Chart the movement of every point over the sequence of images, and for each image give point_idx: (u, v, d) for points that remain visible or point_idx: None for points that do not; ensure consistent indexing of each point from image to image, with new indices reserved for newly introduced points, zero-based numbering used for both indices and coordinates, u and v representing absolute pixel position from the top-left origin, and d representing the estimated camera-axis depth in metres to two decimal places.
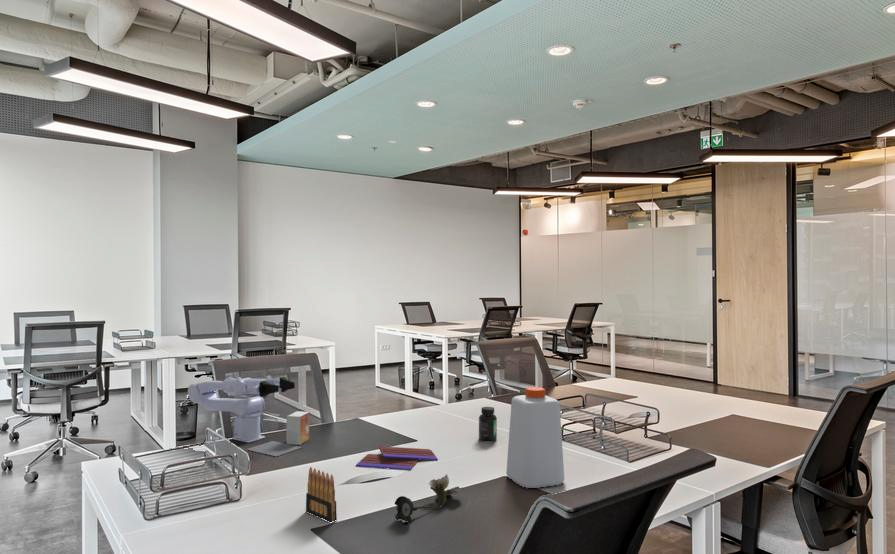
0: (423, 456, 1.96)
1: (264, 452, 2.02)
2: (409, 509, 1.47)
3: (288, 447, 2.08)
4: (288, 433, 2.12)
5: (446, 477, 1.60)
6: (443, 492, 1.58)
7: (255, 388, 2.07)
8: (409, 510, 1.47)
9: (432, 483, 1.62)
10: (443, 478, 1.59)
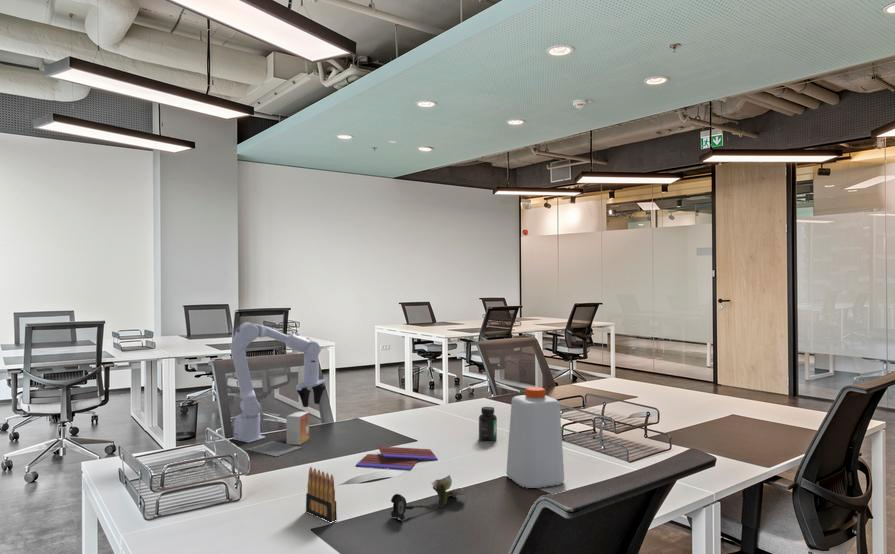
0: (423, 456, 1.96)
1: (264, 452, 2.02)
2: (403, 507, 1.48)
3: (288, 447, 2.08)
4: (288, 433, 2.12)
5: (448, 478, 1.59)
6: (444, 493, 1.57)
7: (299, 389, 2.24)
8: (403, 508, 1.48)
9: (436, 483, 1.62)
10: (444, 479, 1.58)
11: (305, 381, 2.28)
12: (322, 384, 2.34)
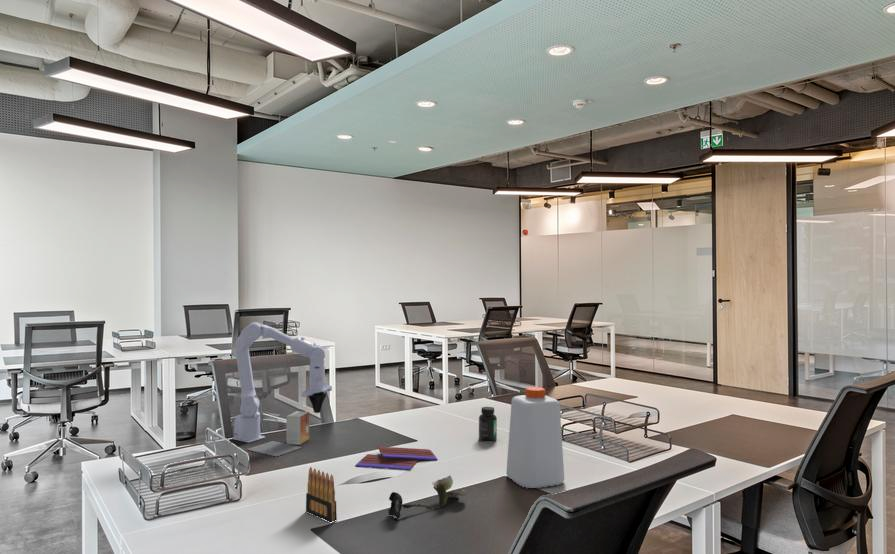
0: (423, 456, 1.96)
1: (264, 452, 2.02)
2: None
3: (288, 447, 2.08)
4: (288, 433, 2.12)
5: (449, 478, 1.59)
6: (444, 493, 1.57)
7: (304, 396, 2.18)
8: None
9: (438, 483, 1.62)
10: (445, 479, 1.58)
11: (311, 388, 2.22)
12: (328, 390, 2.29)
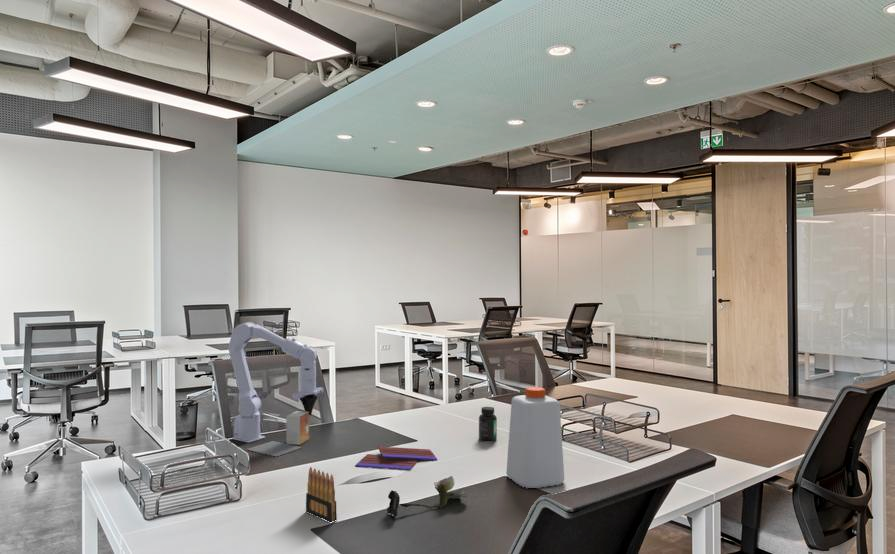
0: (422, 456, 1.96)
1: (264, 452, 2.02)
2: None
3: (288, 447, 2.08)
4: (288, 433, 2.12)
5: (450, 479, 1.58)
6: (444, 493, 1.57)
7: (295, 398, 2.14)
8: None
9: (440, 483, 1.62)
10: (445, 479, 1.57)
11: (302, 390, 2.18)
12: (320, 392, 2.25)
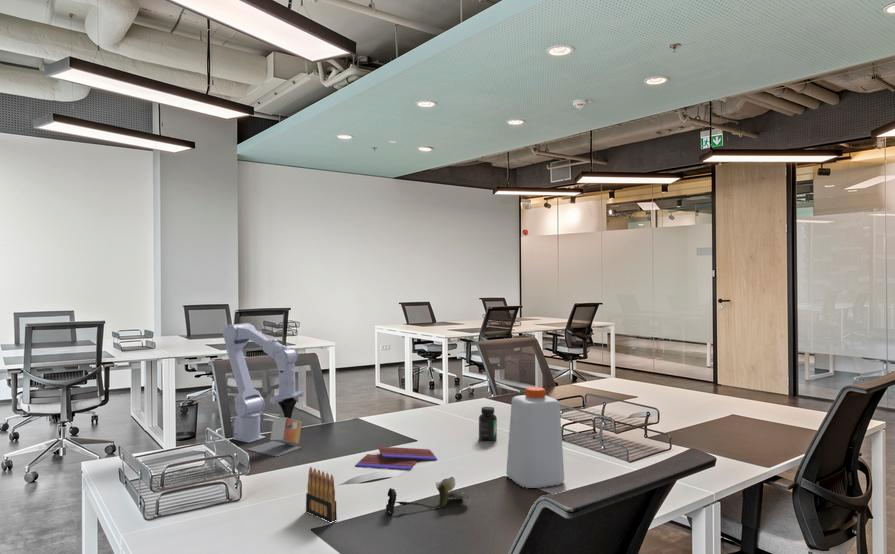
0: (422, 456, 1.96)
1: (264, 452, 2.02)
2: None
3: (288, 447, 2.08)
4: (282, 442, 2.09)
5: (450, 479, 1.58)
6: (444, 494, 1.56)
7: (273, 402, 2.04)
8: None
9: None
10: (446, 480, 1.57)
11: (280, 393, 2.09)
12: (300, 396, 2.15)
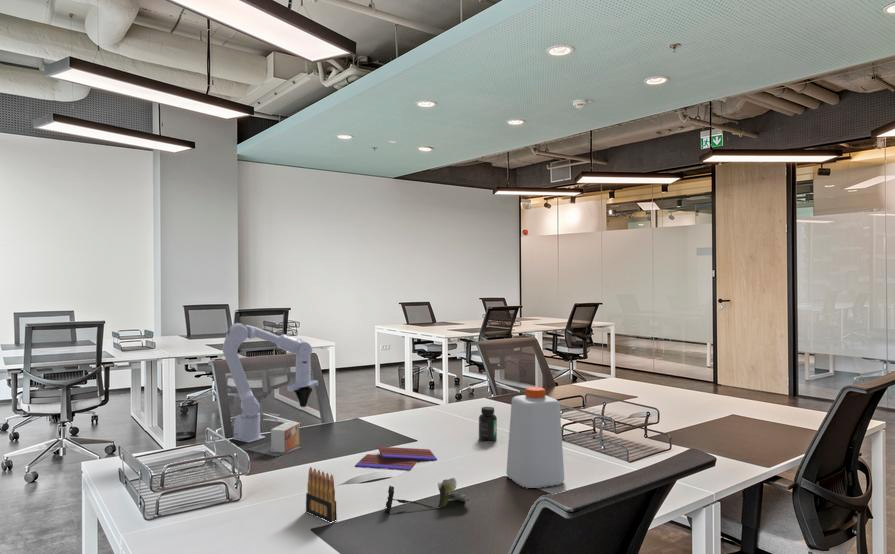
0: (422, 456, 1.96)
1: (264, 452, 2.02)
2: (392, 499, 1.53)
3: None
4: None
5: (451, 481, 1.57)
6: (444, 495, 1.56)
7: (290, 390, 2.21)
8: (392, 500, 1.53)
9: None
10: (446, 481, 1.57)
11: (297, 382, 2.26)
12: (314, 385, 2.32)
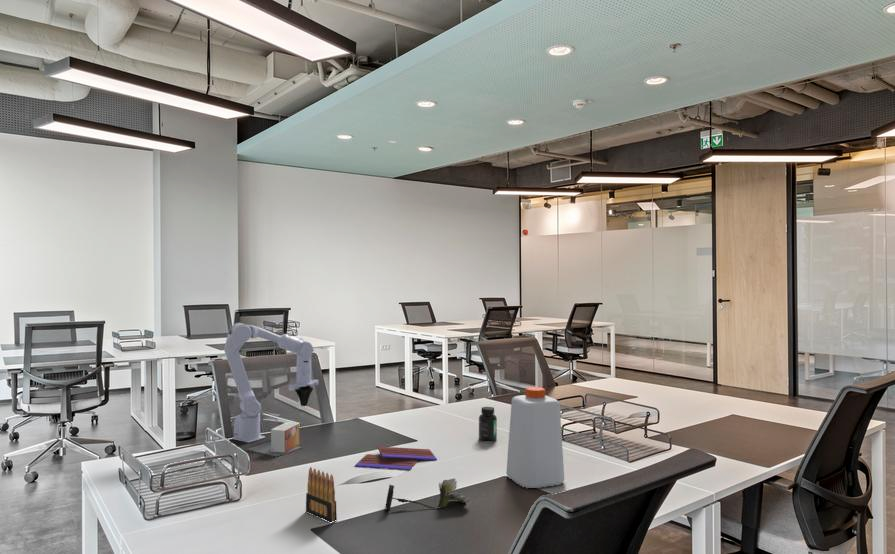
0: (422, 456, 1.96)
1: (264, 452, 2.02)
2: (392, 498, 1.54)
3: None
4: None
5: (451, 481, 1.57)
6: (444, 495, 1.56)
7: (291, 389, 2.23)
8: (391, 499, 1.54)
9: None
10: (446, 481, 1.56)
11: (298, 381, 2.27)
12: (315, 384, 2.34)
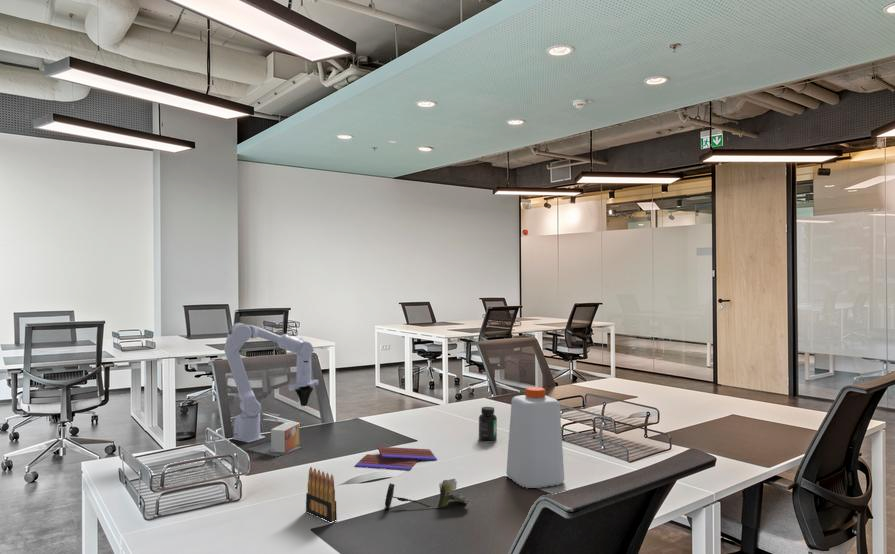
0: (422, 456, 1.96)
1: (264, 452, 2.02)
2: (391, 497, 1.55)
3: None
4: None
5: (451, 481, 1.56)
6: (443, 495, 1.56)
7: (291, 389, 2.23)
8: (391, 498, 1.55)
9: None
10: (446, 481, 1.56)
11: (298, 381, 2.27)
12: (315, 384, 2.34)
